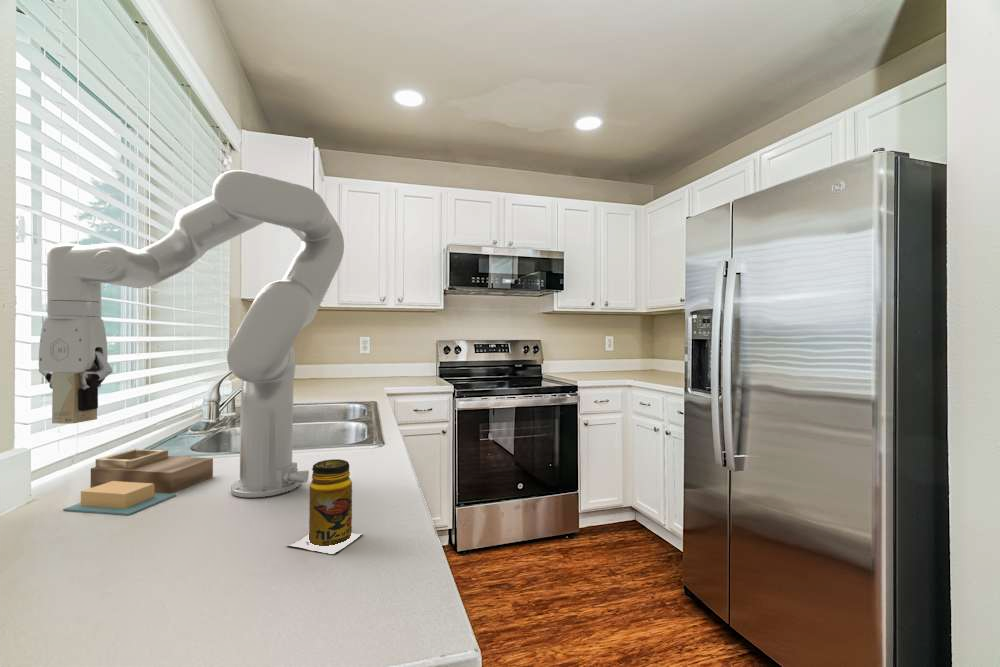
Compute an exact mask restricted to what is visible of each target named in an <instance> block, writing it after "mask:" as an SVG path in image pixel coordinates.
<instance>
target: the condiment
mask: <svg viewBox="0 0 1000 667" xmlns="http://www.w3.org/2000/svg"><path fill="white" fill-rule="evenodd" d="M311 470H312V475H311V479H312V480H311V482H310V484H309V508H308V510H309V515H308V516H309V518H308V520H309V522H308V525H309V526H308V528H309V530H308V531H309V532H308V533H309V540H310V543H312V544H314V545H319V546H329V545H335V544H338V543H341V542H344V541H346V540H347V539H349V538H350V536H351V533H352V532H353V525H352V524H353V521H352V519H353V504H352V503H353V501H352V500H353V485H352V484H353V481H352V479H351V478H350V475H351V474H350V464H349V462H348V461H347V460H345V459H336V458H334V459H324V460H320V461H318V462H315V463H314V464H312V469H311Z"/></svg>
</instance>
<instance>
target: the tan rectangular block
mask: <svg viewBox="0 0 1000 667" xmlns="http://www.w3.org/2000/svg"><path fill="white" fill-rule="evenodd" d="M154 493H155V492H154V484H153V483H137V482H120V481H111V482H108V483H105V484H102V485H99V486H96V487H93V488H90V487H89V488H87V489H84V490H81V491H80V503H81V505H84V506H98V507H112V508H127V507H130V506H132V505H135V504H137V503H140V502H143V501H145V500H148V499H150V498H153V497H154Z"/></svg>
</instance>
